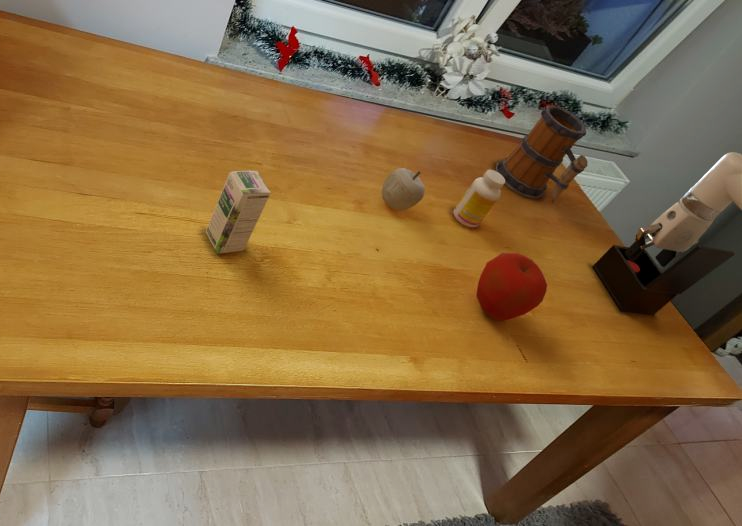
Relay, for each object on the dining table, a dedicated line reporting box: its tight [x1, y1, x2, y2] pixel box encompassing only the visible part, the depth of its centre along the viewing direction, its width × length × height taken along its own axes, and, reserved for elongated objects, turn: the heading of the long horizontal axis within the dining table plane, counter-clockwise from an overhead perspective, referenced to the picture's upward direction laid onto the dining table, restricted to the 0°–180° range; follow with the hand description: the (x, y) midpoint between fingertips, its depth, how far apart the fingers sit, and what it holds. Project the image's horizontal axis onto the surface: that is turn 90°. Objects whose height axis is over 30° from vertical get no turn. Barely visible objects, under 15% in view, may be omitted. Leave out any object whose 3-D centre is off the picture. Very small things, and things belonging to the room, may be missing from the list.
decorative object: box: [381, 167, 426, 211], centre depth 147 cm, size 9×9×10 cm
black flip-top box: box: [591, 244, 679, 316], centre depth 158 cm, size 14×11×8 cm
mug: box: [494, 104, 588, 204], centre depth 172 cm, size 19×14×20 cm
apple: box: [476, 252, 548, 322], centre depth 132 cm, size 12×12×14 cm
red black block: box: [626, 260, 640, 275], centre depth 159 cm, size 4×4×5 cm
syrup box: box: [205, 170, 272, 255], centre depth 118 cm, size 6×6×14 cm
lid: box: [645, 244, 736, 295], centre depth 145 cm, size 15×11×1 cm
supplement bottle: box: [453, 169, 505, 228], centre depth 153 cm, size 7×7×13 cm
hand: (644, 259), depth 156 cm, fingers open, 9 cm apart
